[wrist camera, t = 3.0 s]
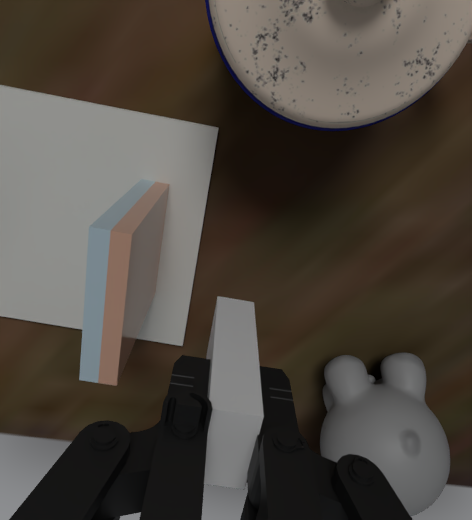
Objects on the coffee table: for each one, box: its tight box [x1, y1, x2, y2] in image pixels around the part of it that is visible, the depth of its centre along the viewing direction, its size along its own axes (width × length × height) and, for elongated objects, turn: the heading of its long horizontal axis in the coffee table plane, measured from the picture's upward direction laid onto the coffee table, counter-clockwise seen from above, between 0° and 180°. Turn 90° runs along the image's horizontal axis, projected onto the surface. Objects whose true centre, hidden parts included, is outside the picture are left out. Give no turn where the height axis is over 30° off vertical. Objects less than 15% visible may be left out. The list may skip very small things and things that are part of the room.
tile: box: [79, 179, 170, 386], centre depth 21 cm, size 2×7×9 cm, turn 169°
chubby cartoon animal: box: [320, 353, 450, 516], centre depth 28 cm, size 7×12×8 cm, turn 0°
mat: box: [0, 85, 219, 346], centre depth 26 cm, size 18×14×1 cm
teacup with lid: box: [205, 0, 472, 131], centre depth 16 cm, size 12×9×12 cm
